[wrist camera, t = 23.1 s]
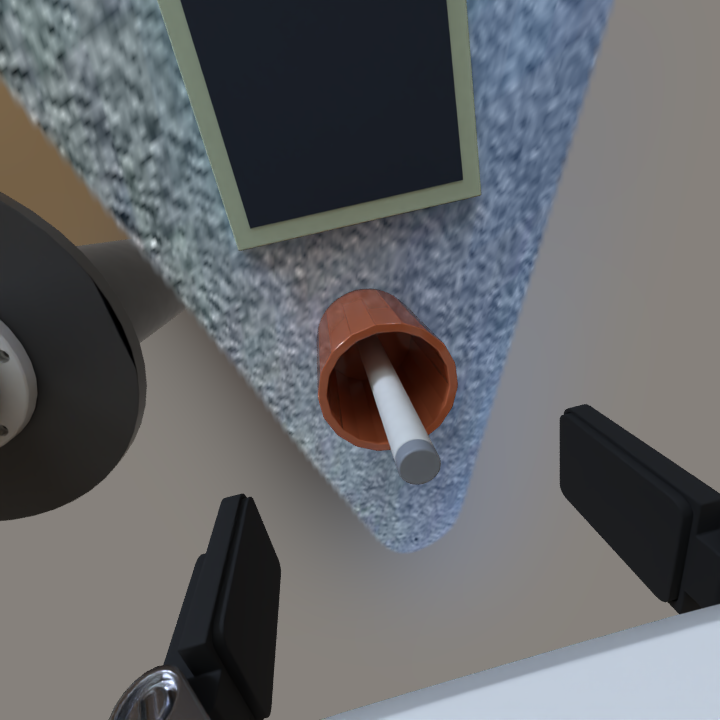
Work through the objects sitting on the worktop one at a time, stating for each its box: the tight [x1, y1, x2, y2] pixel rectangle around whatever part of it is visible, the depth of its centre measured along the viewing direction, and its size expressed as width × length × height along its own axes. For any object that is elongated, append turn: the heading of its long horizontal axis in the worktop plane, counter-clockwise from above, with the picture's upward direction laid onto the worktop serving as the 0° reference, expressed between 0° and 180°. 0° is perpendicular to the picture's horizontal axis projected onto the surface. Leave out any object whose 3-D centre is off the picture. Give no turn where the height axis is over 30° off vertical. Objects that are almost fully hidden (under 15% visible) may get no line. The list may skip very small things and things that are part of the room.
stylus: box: [356, 334, 441, 484], centre depth 18 cm, size 1×1×13 cm
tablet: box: [157, 0, 481, 251], centre depth 18 cm, size 14×18×1 cm
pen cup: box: [317, 289, 458, 451], centre depth 21 cm, size 6×6×8 cm
